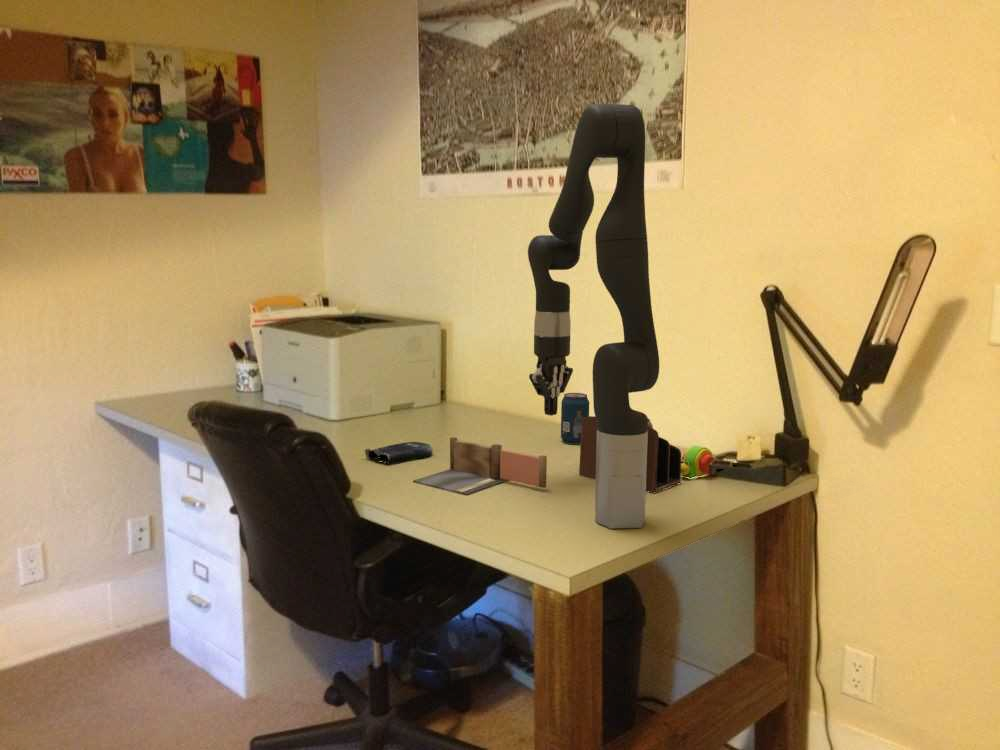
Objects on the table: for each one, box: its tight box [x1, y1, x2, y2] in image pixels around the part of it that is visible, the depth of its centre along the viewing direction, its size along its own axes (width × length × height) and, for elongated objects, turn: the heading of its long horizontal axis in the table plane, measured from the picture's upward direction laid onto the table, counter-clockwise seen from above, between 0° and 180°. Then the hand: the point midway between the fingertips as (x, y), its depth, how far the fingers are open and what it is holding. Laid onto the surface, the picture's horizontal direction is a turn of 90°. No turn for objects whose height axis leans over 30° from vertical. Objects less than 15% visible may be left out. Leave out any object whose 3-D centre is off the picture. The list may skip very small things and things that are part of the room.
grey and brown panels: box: [413, 437, 510, 496], centre depth 194 cm, size 16×15×8 cm
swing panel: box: [500, 449, 548, 489], centre depth 190 cm, size 12×2×6 cm, turn 51°
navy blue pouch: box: [364, 441, 434, 466], centre depth 213 cm, size 9×6×15 cm
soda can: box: [560, 392, 590, 445], centre depth 228 cm, size 7×7×12 cm
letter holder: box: [578, 415, 682, 494], centre depth 195 cm, size 10×20×14 cm, turn 46°
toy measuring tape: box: [681, 445, 715, 478], centre depth 201 cm, size 6×20×7 cm, turn 131°
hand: (550, 414), depth 192 cm, fingers closed
